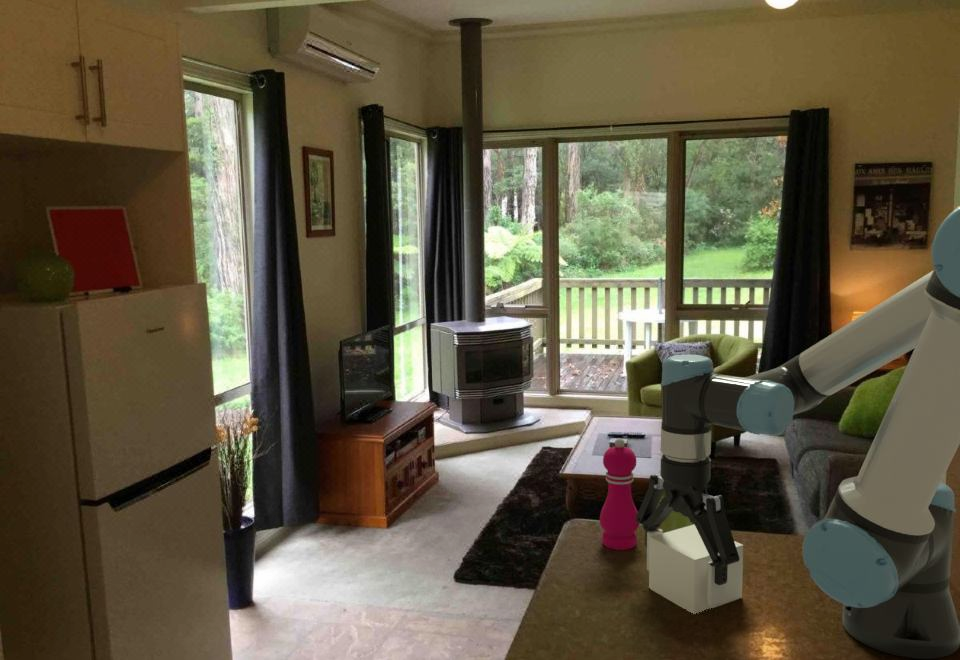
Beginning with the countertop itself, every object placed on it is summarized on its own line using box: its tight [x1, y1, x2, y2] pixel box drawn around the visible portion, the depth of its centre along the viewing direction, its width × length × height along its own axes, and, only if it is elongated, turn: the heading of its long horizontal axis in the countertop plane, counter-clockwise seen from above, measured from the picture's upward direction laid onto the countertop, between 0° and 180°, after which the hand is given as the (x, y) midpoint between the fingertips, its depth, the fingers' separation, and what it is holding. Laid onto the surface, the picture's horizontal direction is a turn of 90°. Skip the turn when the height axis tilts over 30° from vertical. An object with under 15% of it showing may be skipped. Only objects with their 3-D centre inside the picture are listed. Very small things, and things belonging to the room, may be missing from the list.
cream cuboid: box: [648, 524, 744, 615], centre depth 130 cm, size 10×10×9 cm
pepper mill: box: [599, 438, 640, 551], centre depth 149 cm, size 7×7×20 cm
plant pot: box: [656, 491, 694, 533], centre depth 151 cm, size 9×9×9 cm
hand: (683, 584), depth 129 cm, fingers open, 13 cm apart
